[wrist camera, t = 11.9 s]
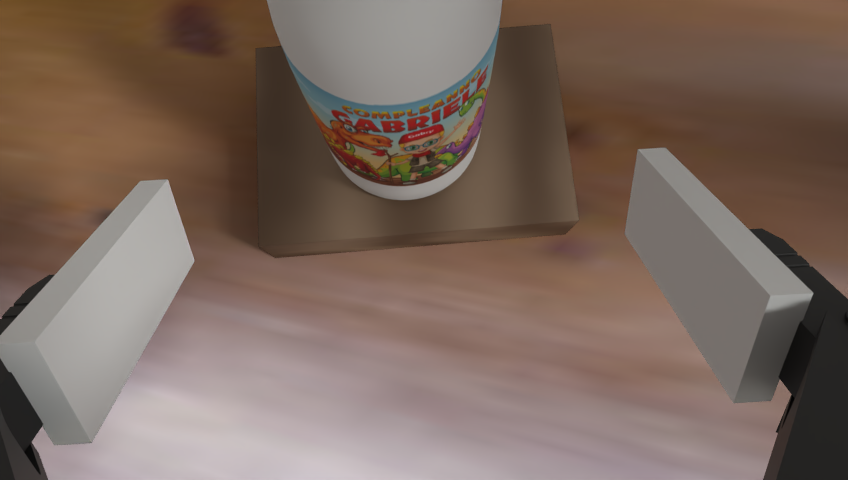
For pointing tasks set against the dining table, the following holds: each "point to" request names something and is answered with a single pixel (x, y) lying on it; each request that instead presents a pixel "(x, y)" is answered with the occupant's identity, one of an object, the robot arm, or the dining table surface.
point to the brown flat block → (438, 213)
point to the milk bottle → (393, 84)
